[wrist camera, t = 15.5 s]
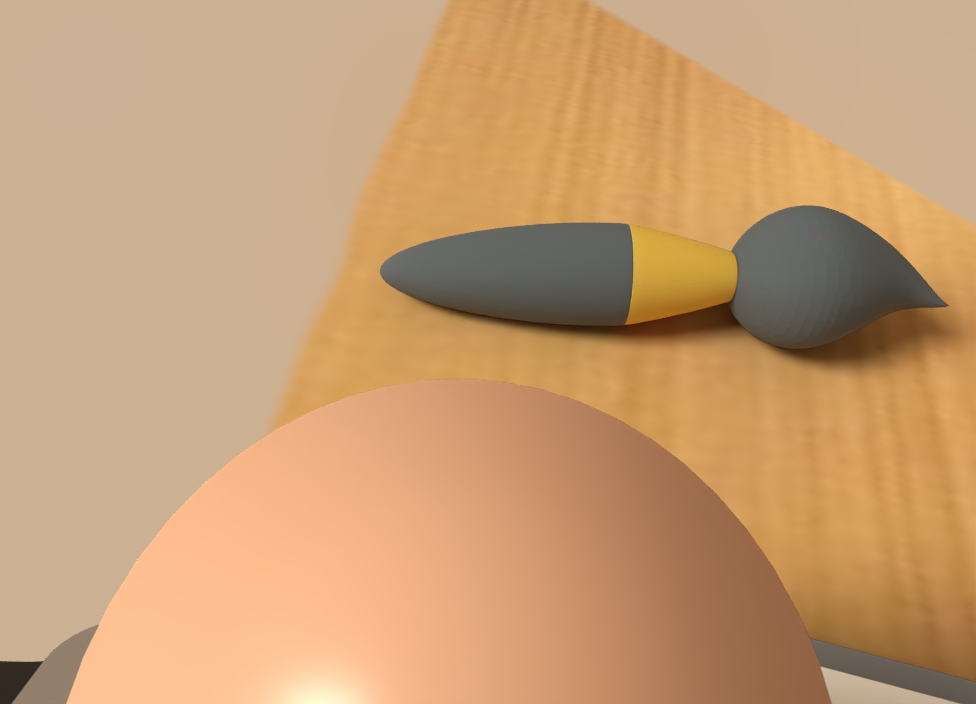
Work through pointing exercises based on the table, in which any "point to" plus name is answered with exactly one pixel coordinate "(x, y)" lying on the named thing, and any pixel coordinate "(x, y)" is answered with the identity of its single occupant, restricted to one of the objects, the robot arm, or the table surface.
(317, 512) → the peach capped blue cylinder
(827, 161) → the table surface
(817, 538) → the table surface
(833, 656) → the whiteboard
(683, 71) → the table surface
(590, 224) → the paintbrush
